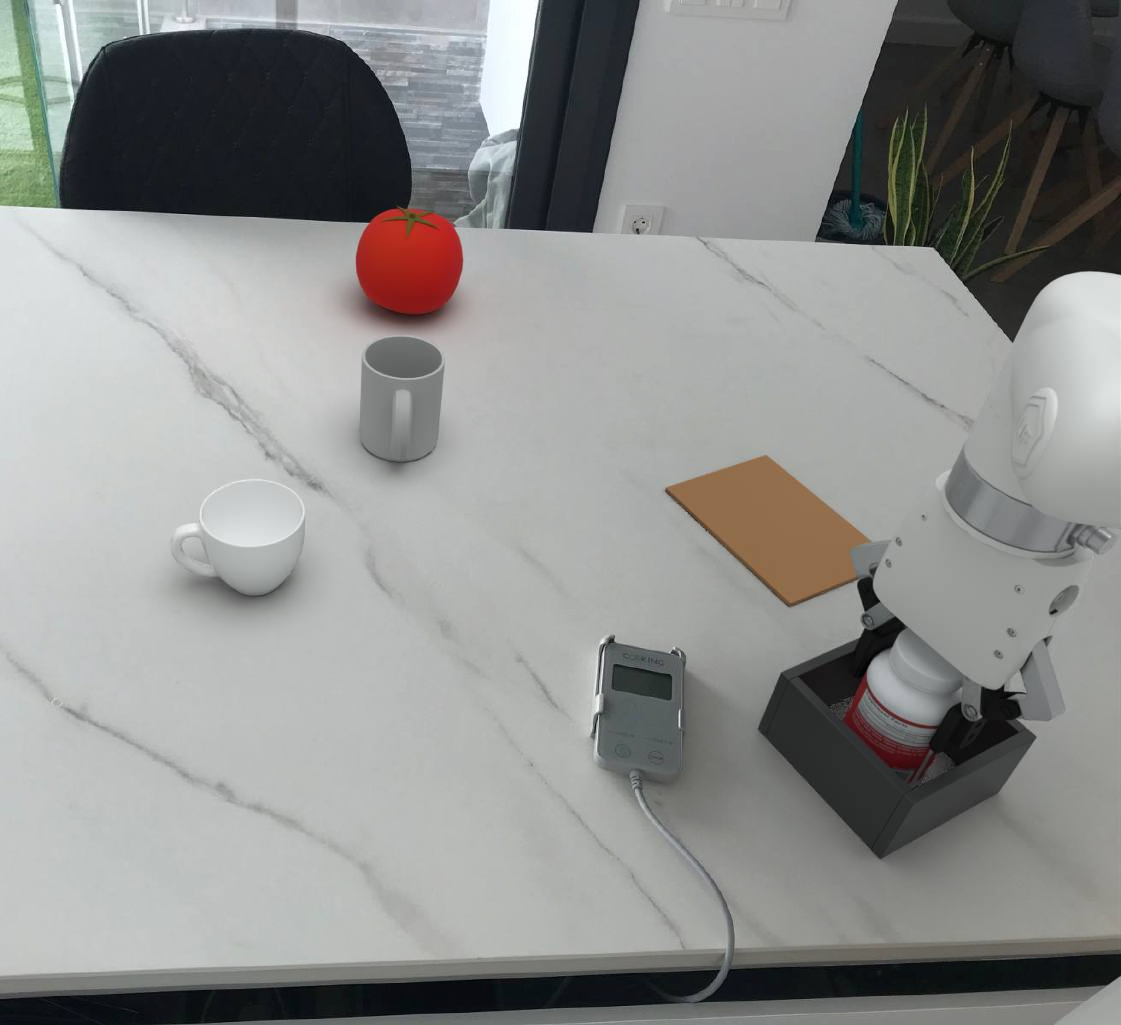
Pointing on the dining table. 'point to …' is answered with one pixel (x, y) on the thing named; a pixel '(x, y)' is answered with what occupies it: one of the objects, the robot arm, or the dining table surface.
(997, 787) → the bin
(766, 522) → the cork mat
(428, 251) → the tomato
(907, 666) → the pill bottle
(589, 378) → the dining table surface
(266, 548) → the cup
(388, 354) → the cup
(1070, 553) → the robot arm
